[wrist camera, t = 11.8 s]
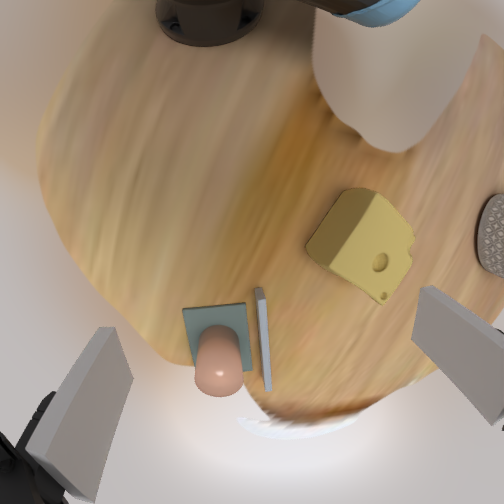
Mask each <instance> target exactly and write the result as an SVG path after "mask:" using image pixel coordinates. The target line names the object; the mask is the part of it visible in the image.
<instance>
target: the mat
mask: <svg viewBox="0 0 504 504" xmlns="http://www.w3.org/2000/svg"><path fill="white" fill-rule="evenodd" d="M182 311H183V316H184V321H185V326H186V331H187V335H188V340H189V344H190V349H191V353H192V357H193V362H194V366H195V369H196V360H197V352H198V344H199V337H200V335H201V333H202V332H203V331H204V330H205V329H206V328H208V327H210V326H213V325H224V326H227V327H230V328H231V329H233V330H234V331H235V332H236V334H237V335H238V338H239V344H240V353H241V362H242V370H243V372H244V371H252V370H253V369H252V360H251V351H250V342H249V332H248V323H247V313H246V304H245V303H236V304H227V305H217V306H207V307H196V308H185V309H183V310H182Z"/></svg>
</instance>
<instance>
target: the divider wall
mask: <svg viewBox="0 0 504 504" xmlns="http://www.w3.org/2000/svg"><path fill="white" fill-rule="evenodd" d="M255 298H256V310H257V321H258V333H259V344H260V356H261V367H262V377H263V382H264V387H265V391H266V392H267V391H272V383H271V368H270V353H269V338H268V323H267V309H266V298H265V295H264V293H263V290H262V288H255Z"/></svg>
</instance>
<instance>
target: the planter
mask: <svg viewBox="0 0 504 504" xmlns="http://www.w3.org/2000/svg"><path fill="white" fill-rule="evenodd" d="M477 242H478V255H479V259H480V262H481V264H482V266H483V268H484V269H485V270H487V271H489V272H491V273H493V274H495V275H497V276H499V277H502V278H504V194H497V195H495V196H494V197H492V198H491V199H490V200H489V202H488V203H487V205H486V207H485V209H484V211H483V214H482V217H481V221H480V225H479V231H478V241H477Z"/></svg>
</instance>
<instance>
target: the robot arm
mask: <svg viewBox="0 0 504 504" xmlns="http://www.w3.org/2000/svg"><path fill="white" fill-rule="evenodd" d="M298 1H301V2H303V3H306V4H309V5H312V6H315V7H317V8H320V9H323V10H325V11H327V12H330V13H331V14H332V15H334V16H336V17H341V18H346V19H348V20H351V21H353V22H356V23H358V24H360V25H363V26H366V27H379V26H380V27H381V26H386V25H388V24H391V23H393V22H395V21H397V20H399V19H400V18H401V17H403V16H404V15H405V14H407V13H408V12H409V11H410V10H412V9H413V8H414V7H415V6H416V5H417V3H418V2H419V1H420V0H298ZM263 5H264V0H157V2H156V17H157V19H158V22H159V24H160V27H161V28H162V30H163V31H164V32H165V33H166V34H167V35H168V36H169V37H170V38H172V39H174V40H176V41H178V42H180V43H183V44H187V45H191V46H201V47H207V46H217V45H222V44H226V43H229V42H232V41H235V40H237V39H239V38H241V37H243V36H244V35H246V34H247V33H249V32H250V31H251V30H252V29H253V28H254V27H255V26H256V24H257V23H258V21H259V19H260V17H261V14H262V10H263ZM411 340H412V341H413V342H414V343H415V344H416V345H417V346H418V347H419V348H420V349H421V350H422V351H423V352H424V353H425V354H426V355H427V356H428V357H429V358H430V359H431V360H432V361H433V362H434V363H435V364H436V365H437V366H438V367H439V368H440V369H441V370H442V372H443V373H444V374H445V375H446V376H447V377H448V378H449V379H450V380H451V381H452V382H453V383H454V384H455V385H456V387H457V388H458V389H459V390H460V391H461V392H462V393H463V394H464V395H465V396H466V397H467V399H468V400H469V401H470V402H471V403H472V404H473V405H474V406H475V408H477V410H478V411H479V412H480V413H481V414H482V415H483V417H484V418H485V419H486V420H487V421H488V422H489V424H490V425H491V426H493V425H494V424H495V423H497V422H498V421H500V419H502V418H503V417H504V333H503V332H502V331H501V330H499V329H496V328H494V327H493V326H491V325H490V324H489V323H487V322H486V321H484V320H483V319H482V318H480V317H479V316H477V315H476V314H474V313H473V312H472V311H470V310H469V309H467V308H466V307H464V306H463V305H461V304H460V303H458V302H457V301H455V300H454V299H452V298H451V297H449V296H448V295H446V294H445V293H443V292H442V291H440V290H439V289H437V288H436V287H434V286H433V285H432V286H427V287H423V288H420V294H419V300H418V306H417V312H416V318H415V323H414V328H413V333H412V337H411ZM133 379H134V378H133V376H132V373H131V371H130V368H129V365H128V363H127V360H126V357H125V355H124V352H123V349H122V346H121V343H120V341H119V338H118V335H117V332H116V329H115V327H99V328H98V330H97V331H96V332H95V334H94V335H93V337H92V338H91V340H90V341H89V343H88V344H87V346H86V347H85V349H84V350H83V352H82V353H81V355H80V356H79V358H78V359H77V361H76V362H75V364H74V365H73V367H72V368H71V370H70V372H69V373H68V375H67V376H66V378H65V379H64V381H63V383H62V384H61V386H60V387H59V389H58V391H57V392H55V391H52V392H51V393H50V394H49V395H47V396H46V397H45V398H44V399H43V400H42V402H41V403H40V405H39V406H38V408H37V412H35V413H34V415H33V416H32V420H30V422H29V423H28V425H27V427H26V429H25V430H24V432H23V434H22V436H21V438H20V439H19V441H18V443H17V445H16V447H15V448H14V447H13V445H12V444H11V443H10V442H9V441H8V439H7V438H6V437H5V436H4V435H3V433H1V432H0V504H69V503H68V501H67V500H66V499H65V497H64V496H63V495H64V492H65V490H66V491H67V492H68V493H69V494H71V495H72V496H73V497H74V498H76V499H79V500H83V501H86V502H90V503H95V499H96V495H97V492H98V488H99V484H100V480H101V477H102V473H103V469H104V466H105V463H106V460H107V456H108V453H109V450H110V447H111V443H112V440H113V437H114V434H115V431H116V427H117V425H118V421H119V419H120V415H121V413H122V410H123V407H124V404H125V401H126V398H127V395H128V393H129V390H130V387H131V384H132V382H133ZM502 431H504V425H503V428H502Z"/></svg>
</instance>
